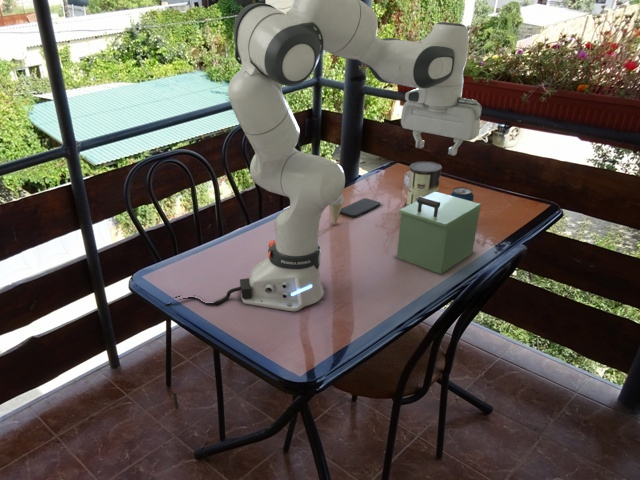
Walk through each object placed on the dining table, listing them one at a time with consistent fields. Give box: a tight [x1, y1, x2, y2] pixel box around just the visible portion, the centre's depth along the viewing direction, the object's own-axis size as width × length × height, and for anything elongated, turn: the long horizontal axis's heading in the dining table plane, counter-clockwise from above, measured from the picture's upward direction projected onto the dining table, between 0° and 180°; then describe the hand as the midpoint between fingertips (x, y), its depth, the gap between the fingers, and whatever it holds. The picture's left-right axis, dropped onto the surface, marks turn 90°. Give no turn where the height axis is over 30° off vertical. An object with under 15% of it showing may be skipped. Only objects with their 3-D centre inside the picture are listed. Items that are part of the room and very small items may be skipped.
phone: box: [339, 198, 381, 218], centre depth 195 cm, size 7×1×15 cm
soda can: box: [450, 186, 474, 202], centre depth 177 cm, size 7×7×12 cm
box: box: [396, 206, 481, 275], centre depth 160 cm, size 17×15×15 cm
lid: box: [398, 191, 482, 227], centre depth 155 cm, size 18×15×5 cm
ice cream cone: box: [328, 193, 344, 225], centre depth 183 cm, size 5×5×15 cm
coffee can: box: [406, 161, 443, 206], centre depth 191 cm, size 10×10×14 cm
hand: (435, 151), depth 143 cm, fingers open, 8 cm apart
